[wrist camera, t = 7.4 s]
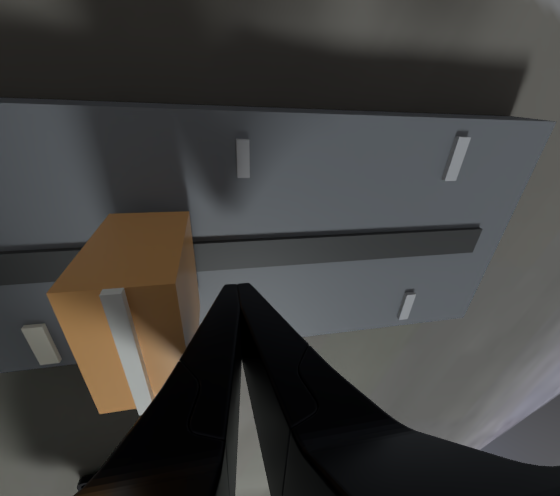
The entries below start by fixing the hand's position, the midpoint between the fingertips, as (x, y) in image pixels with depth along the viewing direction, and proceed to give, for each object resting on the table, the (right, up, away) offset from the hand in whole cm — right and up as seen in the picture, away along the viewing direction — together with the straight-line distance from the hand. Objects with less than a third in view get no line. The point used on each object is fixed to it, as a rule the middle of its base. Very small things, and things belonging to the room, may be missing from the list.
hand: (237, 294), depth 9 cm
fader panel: (0, +2, +4) cm, 4 cm away
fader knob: (-3, +1, +1) cm, 3 cm away
